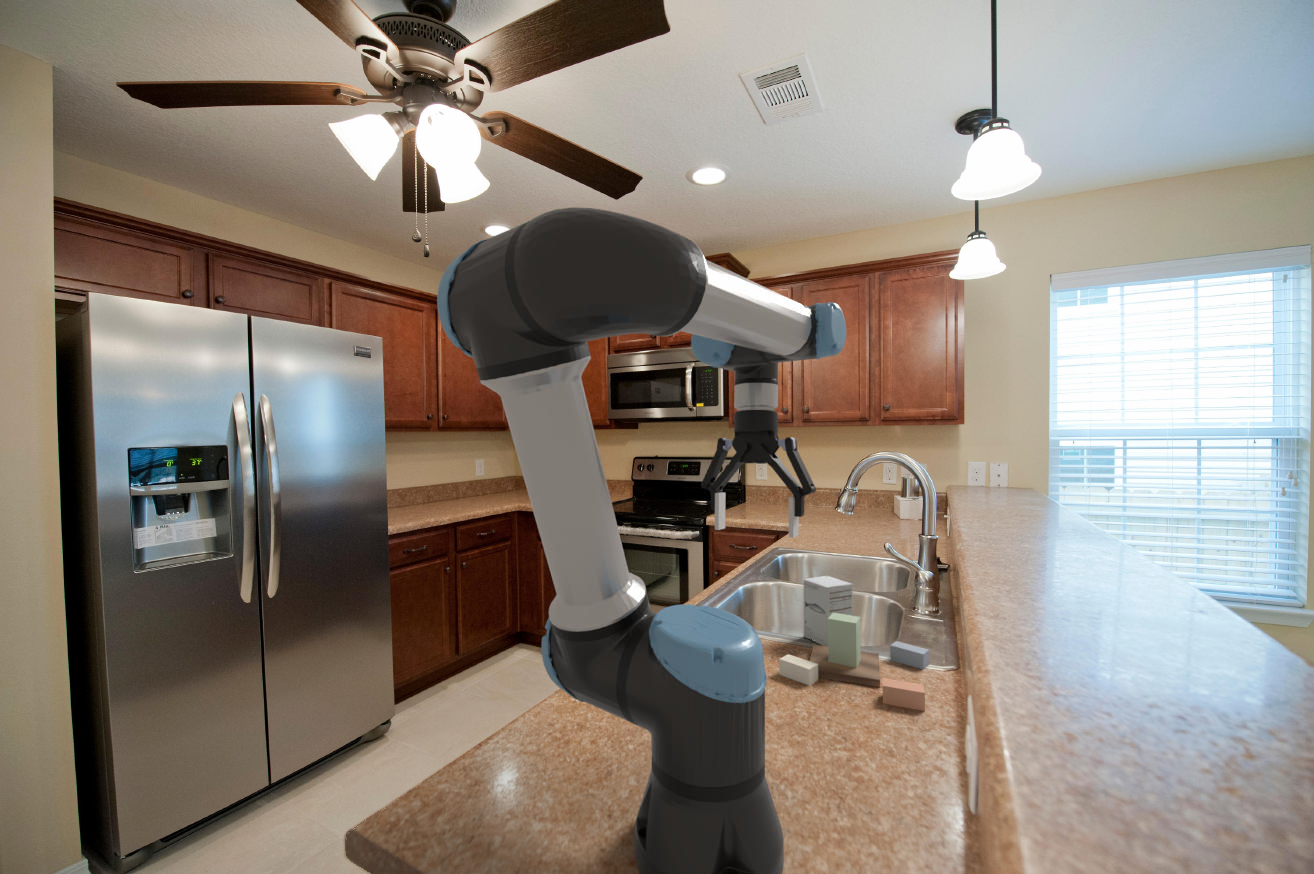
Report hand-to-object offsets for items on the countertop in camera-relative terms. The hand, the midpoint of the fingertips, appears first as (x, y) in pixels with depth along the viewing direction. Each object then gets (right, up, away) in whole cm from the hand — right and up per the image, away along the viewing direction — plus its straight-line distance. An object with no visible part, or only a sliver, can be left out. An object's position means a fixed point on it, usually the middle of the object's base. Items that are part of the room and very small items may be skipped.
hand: (755, 532), depth 88 cm
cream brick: (+8, -27, +3) cm, 28 cm away
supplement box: (+19, -27, +20) cm, 39 cm away
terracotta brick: (+23, -26, -6) cm, 35 cm away
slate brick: (+31, -27, +9) cm, 42 cm away
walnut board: (+18, -26, +7) cm, 33 cm away
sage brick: (+18, -25, +7) cm, 32 cm away
